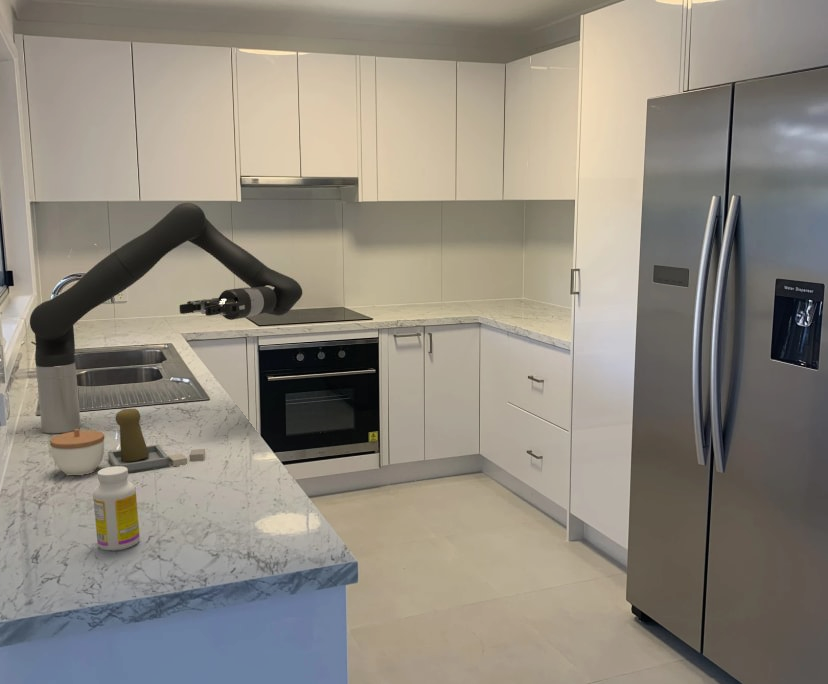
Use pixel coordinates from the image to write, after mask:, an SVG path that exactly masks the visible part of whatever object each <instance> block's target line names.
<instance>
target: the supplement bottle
mask: <svg viewBox="0 0 828 684" xmlns="http://www.w3.org/2000/svg"><path fill="white" fill-rule="evenodd" d="M128 477H129V474H128V469H127V468H126V467H122V466H115V467H112V466H108V467H103V468H102V469H100V470H98V471H97V480H98V482H99V484H98V485H97V486H96V487H95V488H94V490H93V493H92V496H93V497H92V499H93V507H94V509H93V511H94V518H95V519H94V520H95V530H96V531H95V532H96V538H97V539H96V540H97V546H98V547H99V548H100V549H101V550H104V551H108V550H112V551H111V552H114V551H121V550H122V551H123V550H126V549H129V548H132V547H133V546H135V545H137V543H138V542H140V541H139V540H140V538H141V537H140V525H139V524H140V523H139V512H138V501H137V491H136V486H135V484H134V483H132V481H129V480H128Z"/></svg>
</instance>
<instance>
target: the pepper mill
mask: <svg viewBox="0 0 828 684" xmlns="http://www.w3.org/2000/svg"><path fill="white" fill-rule="evenodd" d="M115 421H116V424H117V425H118V426H119V437H120V438H119V439H120V450H121V461H123V462H130V461H136V460H140V459H143V458H146V457H148V456H149V453H148V450H147V447H146V446H147V444H146V440H145V438H144V437H145V436H144V435H143V434H144V433H143V432H142V429H141V425H140V421H141V414H140V411H139V410H138V409H137V408H126V409H125V408H124V409H123V410H120V411H118V412H116V414H115Z"/></svg>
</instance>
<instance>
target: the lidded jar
mask: <svg viewBox="0 0 828 684" xmlns="http://www.w3.org/2000/svg"><path fill="white" fill-rule="evenodd" d="M49 444H50V451H51V455H52V459H53V462H54V464H55V465H56V467H57V468H58V469H59V470H60V471H62V472H63V473H64V475H65V474H68V475H81V476H85V475H84V474H87V475H89V473H90V474H92V473H94V472H95V471H96V469H97V468H98V466H99V465H100V464H101V463H102V461H103V458H104V455H105V454H104V453H105V434H104V433H103V432H102V431H98V430H89V429H88V430H80V428H79V429H74V431H70V432H64V433H59V434H57V435H55V436H53V437H51V439H50V440H49ZM68 475H67V476H68Z"/></svg>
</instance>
